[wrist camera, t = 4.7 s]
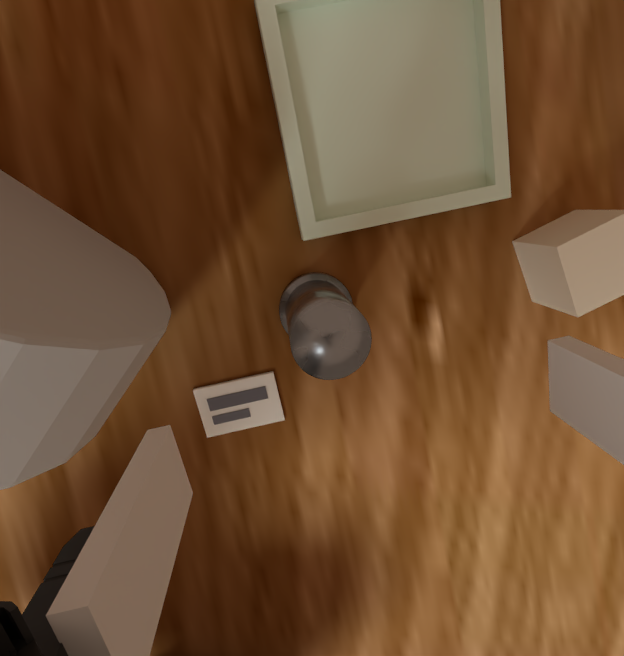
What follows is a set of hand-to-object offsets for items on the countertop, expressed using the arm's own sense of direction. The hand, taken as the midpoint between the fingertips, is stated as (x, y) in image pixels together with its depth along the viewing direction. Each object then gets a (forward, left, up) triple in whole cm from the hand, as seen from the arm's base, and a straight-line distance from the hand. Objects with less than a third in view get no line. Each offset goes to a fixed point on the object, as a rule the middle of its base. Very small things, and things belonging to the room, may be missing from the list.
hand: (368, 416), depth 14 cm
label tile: (-7, -6, -17) cm, 19 cm away
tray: (+7, +12, -17) cm, 22 cm away
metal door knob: (0, 0, -17) cm, 17 cm away
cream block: (+18, 0, -17) cm, 25 cm away
